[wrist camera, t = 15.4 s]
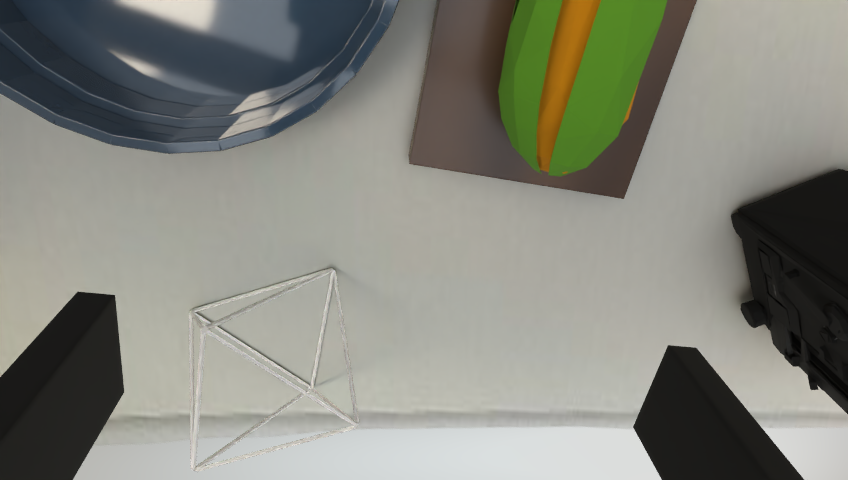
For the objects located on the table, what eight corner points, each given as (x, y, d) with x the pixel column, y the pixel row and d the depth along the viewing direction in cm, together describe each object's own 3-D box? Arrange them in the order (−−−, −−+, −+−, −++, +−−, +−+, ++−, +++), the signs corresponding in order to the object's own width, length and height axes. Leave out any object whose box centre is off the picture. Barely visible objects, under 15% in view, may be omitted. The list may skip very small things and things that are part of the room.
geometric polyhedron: (378, 369, 43) (376, 463, 35) (245, 406, 44) (212, 506, 36) (319, 228, 38) (300, 301, 29) (168, 273, 38) (109, 356, 30)
